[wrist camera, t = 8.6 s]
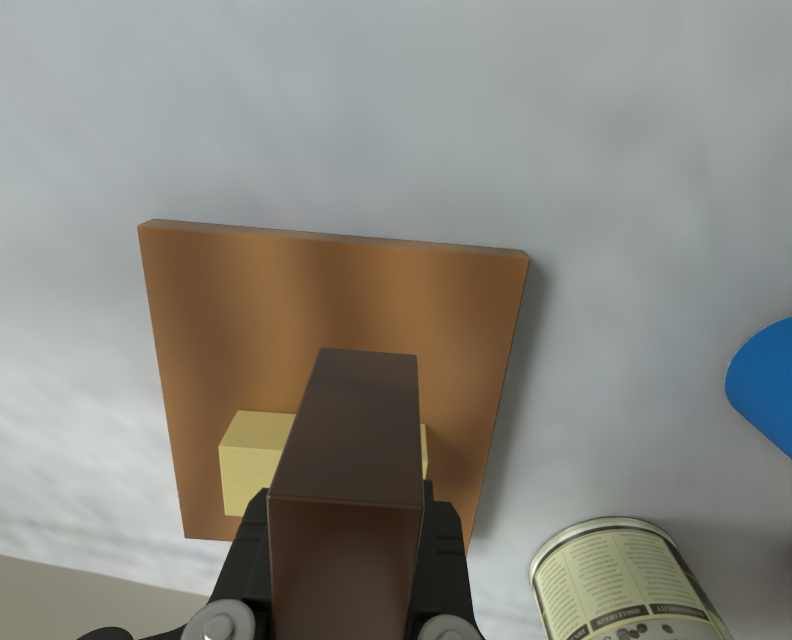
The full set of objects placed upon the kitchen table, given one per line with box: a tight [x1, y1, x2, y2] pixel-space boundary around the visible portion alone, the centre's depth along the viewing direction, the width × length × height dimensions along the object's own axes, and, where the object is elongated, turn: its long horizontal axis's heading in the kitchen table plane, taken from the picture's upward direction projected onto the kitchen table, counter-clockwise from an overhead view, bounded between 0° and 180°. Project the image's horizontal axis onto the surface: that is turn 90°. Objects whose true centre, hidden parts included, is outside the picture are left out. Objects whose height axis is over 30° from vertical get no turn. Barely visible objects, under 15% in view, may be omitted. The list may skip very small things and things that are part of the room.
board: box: [137, 219, 530, 556], centre depth 26 cm, size 18×20×2 cm
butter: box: [218, 410, 296, 516], centre depth 24 cm, size 7×5×3 cm, turn 85°
